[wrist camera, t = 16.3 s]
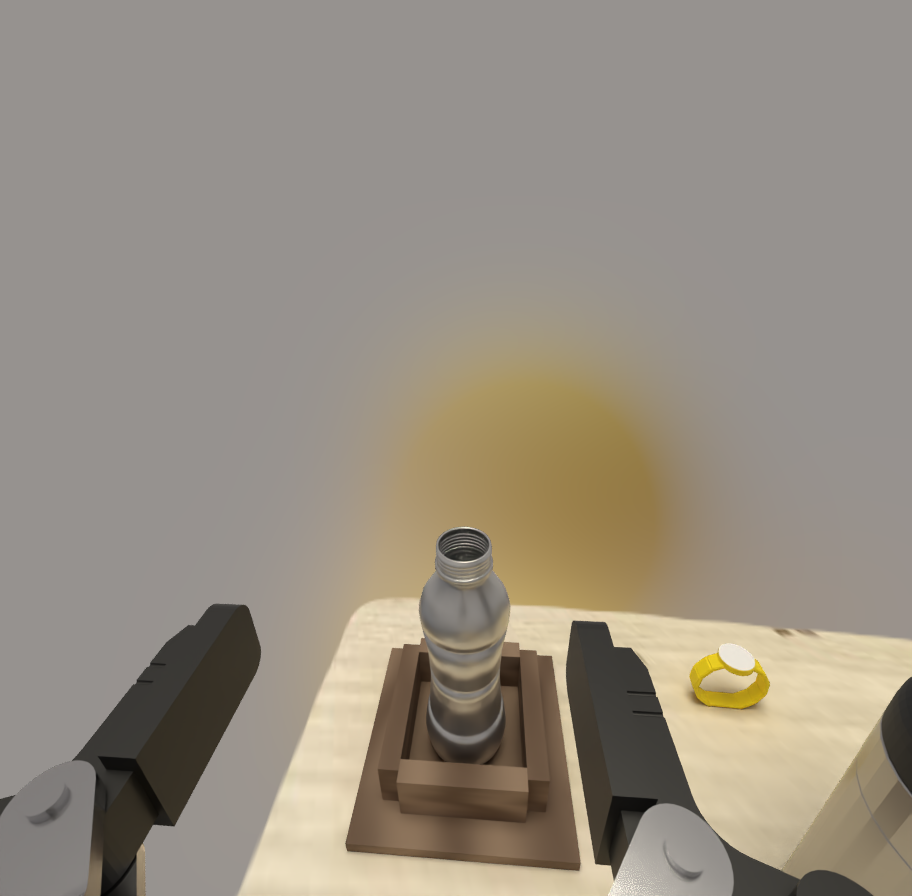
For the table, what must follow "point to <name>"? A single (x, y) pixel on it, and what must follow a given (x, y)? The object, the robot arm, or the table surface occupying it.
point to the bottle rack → (468, 774)
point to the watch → (738, 664)
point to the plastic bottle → (465, 648)
